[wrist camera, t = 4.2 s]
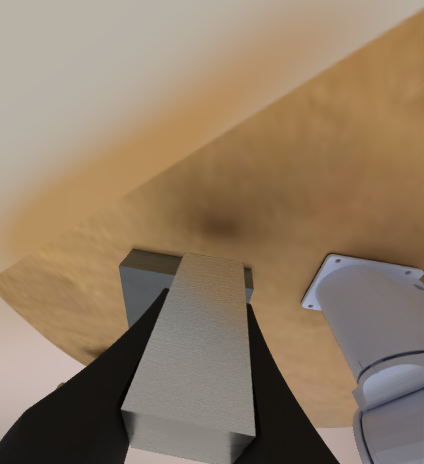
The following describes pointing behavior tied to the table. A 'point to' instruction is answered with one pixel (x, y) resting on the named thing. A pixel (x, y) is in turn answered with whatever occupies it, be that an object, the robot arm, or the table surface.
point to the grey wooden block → (196, 369)
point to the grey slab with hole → (153, 280)
